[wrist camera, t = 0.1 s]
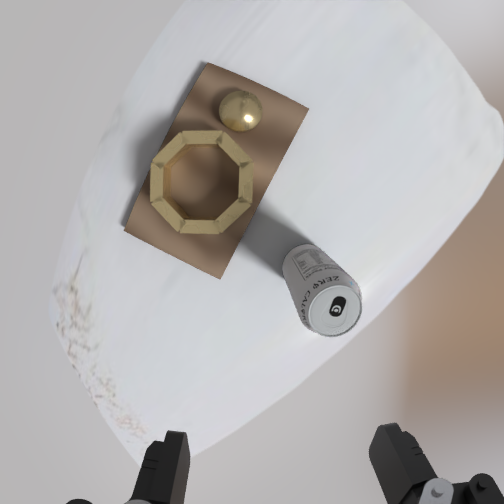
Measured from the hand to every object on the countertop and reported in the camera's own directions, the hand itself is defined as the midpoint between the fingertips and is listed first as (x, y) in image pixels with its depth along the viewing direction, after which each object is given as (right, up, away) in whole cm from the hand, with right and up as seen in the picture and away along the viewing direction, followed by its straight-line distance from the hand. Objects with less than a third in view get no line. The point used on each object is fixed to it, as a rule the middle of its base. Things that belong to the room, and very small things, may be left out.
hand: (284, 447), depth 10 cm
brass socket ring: (-6, +19, +24) cm, 32 cm away
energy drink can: (+5, +6, +29) cm, 30 cm away
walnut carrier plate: (-6, +18, +26) cm, 32 cm away
